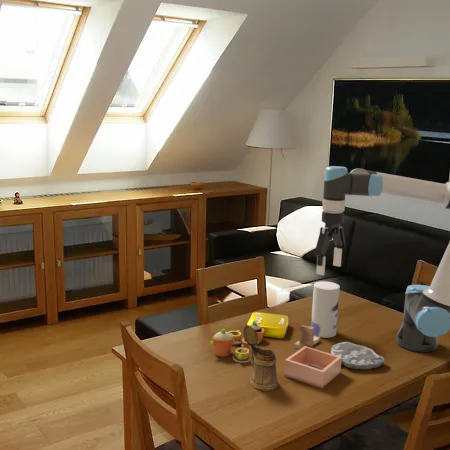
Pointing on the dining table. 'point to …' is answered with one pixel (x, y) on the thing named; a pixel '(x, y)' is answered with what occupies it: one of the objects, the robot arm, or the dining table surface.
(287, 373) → the pink open box
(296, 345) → the beige wooden plank
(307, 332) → the tall beige block
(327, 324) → the container
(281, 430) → the dining table surface
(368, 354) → the brain slice
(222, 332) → the toy tea set
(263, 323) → the element tile
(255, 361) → the wooden mug
